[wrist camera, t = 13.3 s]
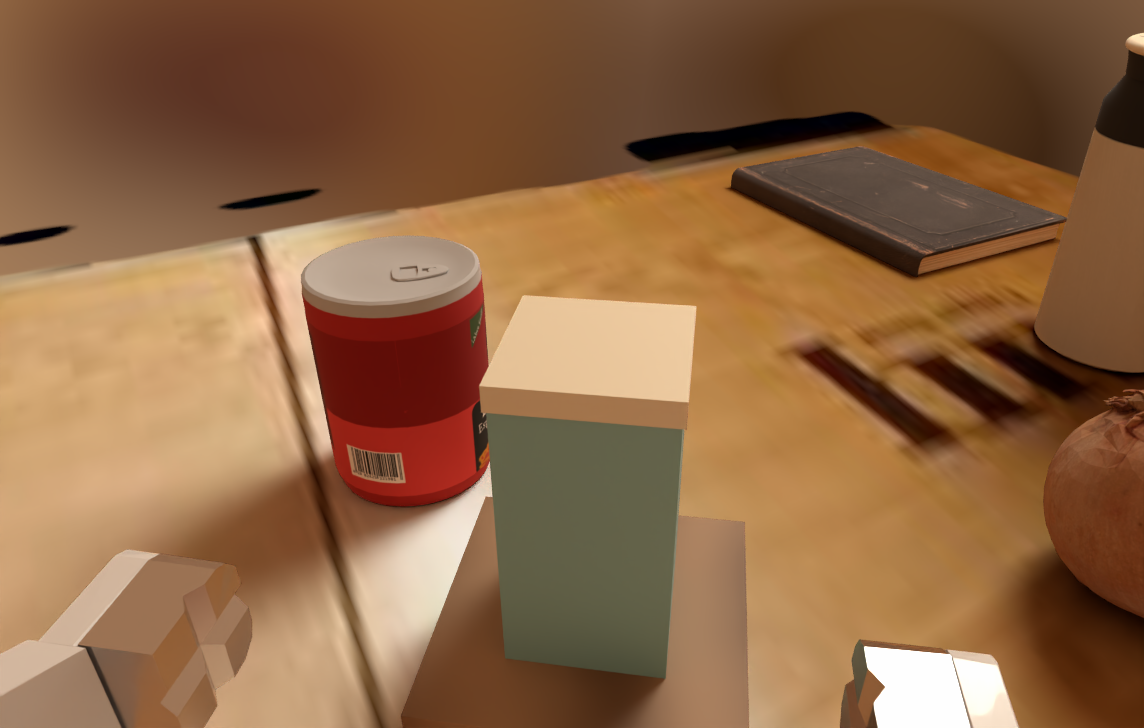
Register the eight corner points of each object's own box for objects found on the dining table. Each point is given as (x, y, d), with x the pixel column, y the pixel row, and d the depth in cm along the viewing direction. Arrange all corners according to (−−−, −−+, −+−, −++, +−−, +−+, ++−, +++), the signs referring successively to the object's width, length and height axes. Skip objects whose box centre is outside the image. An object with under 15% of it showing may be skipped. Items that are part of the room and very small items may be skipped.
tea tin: (501, 660, 26) (479, 385, 21) (534, 545, 31) (523, 295, 25) (668, 681, 25) (688, 402, 20) (677, 560, 30) (696, 306, 25)
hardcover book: (858, 168, 86) (862, 145, 85) (1059, 244, 68) (1067, 217, 67) (729, 192, 80) (731, 168, 79) (913, 283, 62) (920, 254, 61)
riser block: (418, 816, 27) (400, 716, 24) (493, 588, 35) (485, 496, 33) (734, 865, 26) (749, 764, 23) (733, 615, 34) (744, 521, 32)
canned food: (516, 483, 42) (505, 281, 36) (356, 531, 39) (316, 320, 33) (466, 406, 48) (450, 223, 42) (324, 442, 45) (286, 251, 39)
